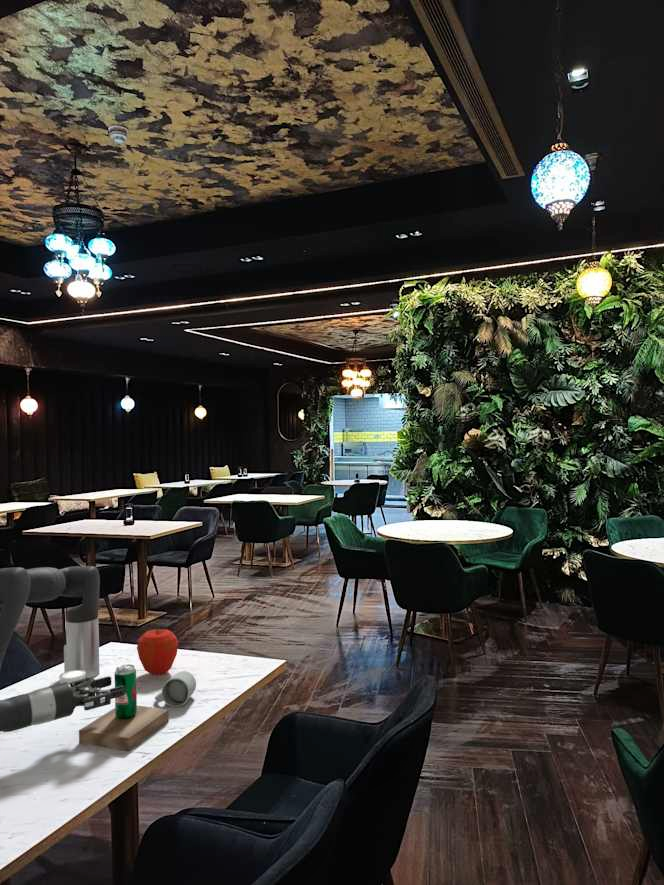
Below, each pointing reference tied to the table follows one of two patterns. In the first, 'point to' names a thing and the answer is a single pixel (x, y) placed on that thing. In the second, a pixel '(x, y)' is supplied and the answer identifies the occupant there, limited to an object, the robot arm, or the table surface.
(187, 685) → the ceramic mug
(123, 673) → the soda can
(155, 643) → the apple
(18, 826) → the table surface
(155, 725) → the walnut plate
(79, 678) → the white cup
